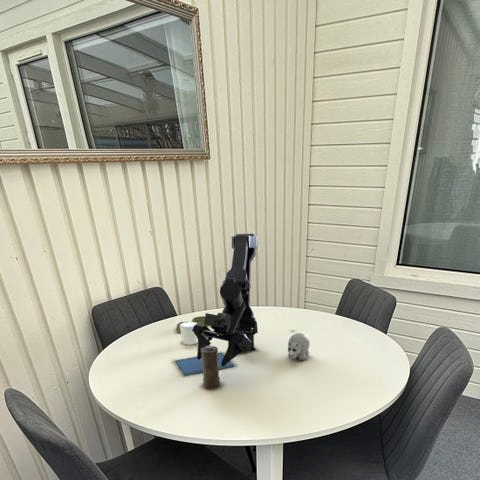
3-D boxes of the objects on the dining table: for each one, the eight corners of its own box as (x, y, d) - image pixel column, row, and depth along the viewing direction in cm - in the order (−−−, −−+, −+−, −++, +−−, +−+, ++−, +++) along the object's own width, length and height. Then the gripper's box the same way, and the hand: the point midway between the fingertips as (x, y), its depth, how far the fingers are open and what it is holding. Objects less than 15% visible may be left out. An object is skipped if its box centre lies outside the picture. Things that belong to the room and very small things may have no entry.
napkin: (221, 353, 148) (221, 352, 147) (234, 366, 137) (234, 365, 137) (175, 361, 143) (174, 360, 142) (184, 375, 132) (184, 374, 132)
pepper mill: (216, 380, 128) (214, 342, 122) (222, 387, 124) (219, 348, 118) (201, 383, 127) (198, 345, 120) (206, 390, 123) (203, 351, 116)
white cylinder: (196, 345, 155) (194, 327, 151) (178, 344, 156) (176, 326, 152) (201, 339, 160) (199, 321, 157) (184, 338, 162) (182, 321, 158)
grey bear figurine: (279, 364, 137) (279, 340, 133) (292, 352, 146) (293, 328, 142) (299, 368, 134) (300, 343, 130) (311, 355, 143) (313, 331, 139)
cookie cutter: (194, 335, 164) (194, 331, 163) (171, 331, 169) (170, 326, 168) (219, 323, 177) (219, 318, 176) (197, 319, 182) (196, 314, 181)
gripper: (193, 296, 121) (171, 344, 119) (244, 305, 111) (221, 357, 110) (212, 316, 131) (191, 360, 129) (261, 326, 121) (239, 373, 119)
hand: (209, 362), depth 121 cm, fingers open, 9 cm apart
